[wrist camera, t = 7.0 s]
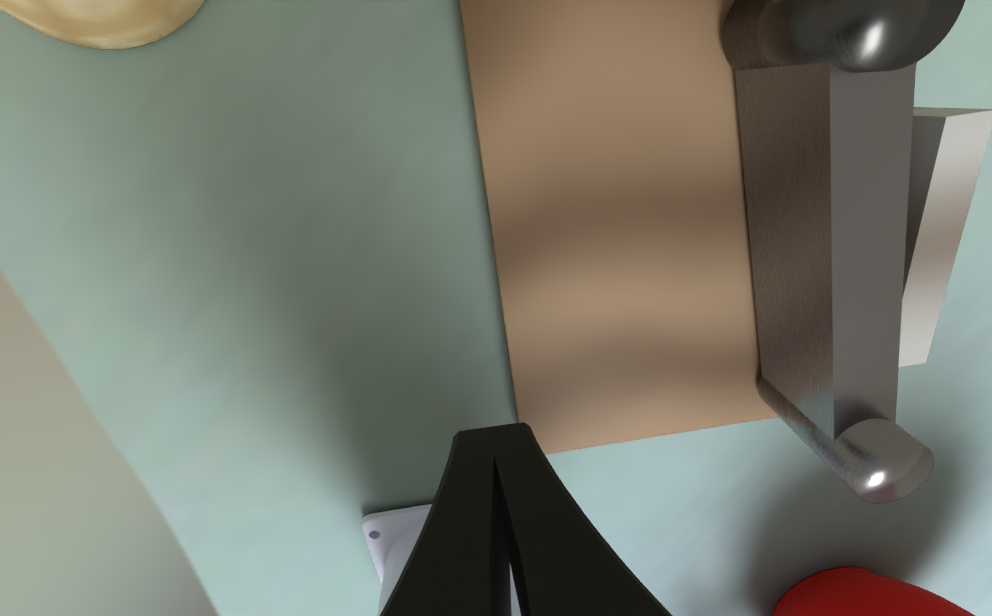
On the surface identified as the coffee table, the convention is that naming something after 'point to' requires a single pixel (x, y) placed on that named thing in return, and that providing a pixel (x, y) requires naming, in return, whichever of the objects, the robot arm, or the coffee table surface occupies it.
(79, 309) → the coffee table surface
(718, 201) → the press base
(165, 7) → the hand bell
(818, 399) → the lever
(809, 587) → the ceramic cup
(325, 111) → the coffee table surface
